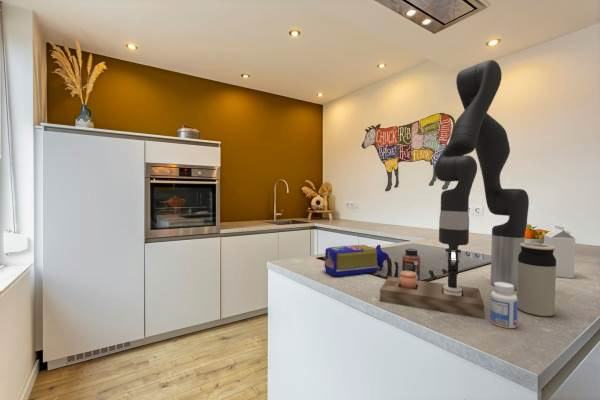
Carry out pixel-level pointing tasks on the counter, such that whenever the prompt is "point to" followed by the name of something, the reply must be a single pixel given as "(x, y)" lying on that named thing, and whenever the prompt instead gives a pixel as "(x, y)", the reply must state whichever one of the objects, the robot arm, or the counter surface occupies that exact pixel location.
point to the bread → (353, 260)
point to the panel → (433, 297)
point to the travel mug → (536, 279)
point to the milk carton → (562, 250)
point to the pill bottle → (504, 305)
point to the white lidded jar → (453, 290)
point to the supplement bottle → (411, 262)
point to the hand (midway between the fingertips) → (452, 286)
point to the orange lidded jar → (408, 279)
